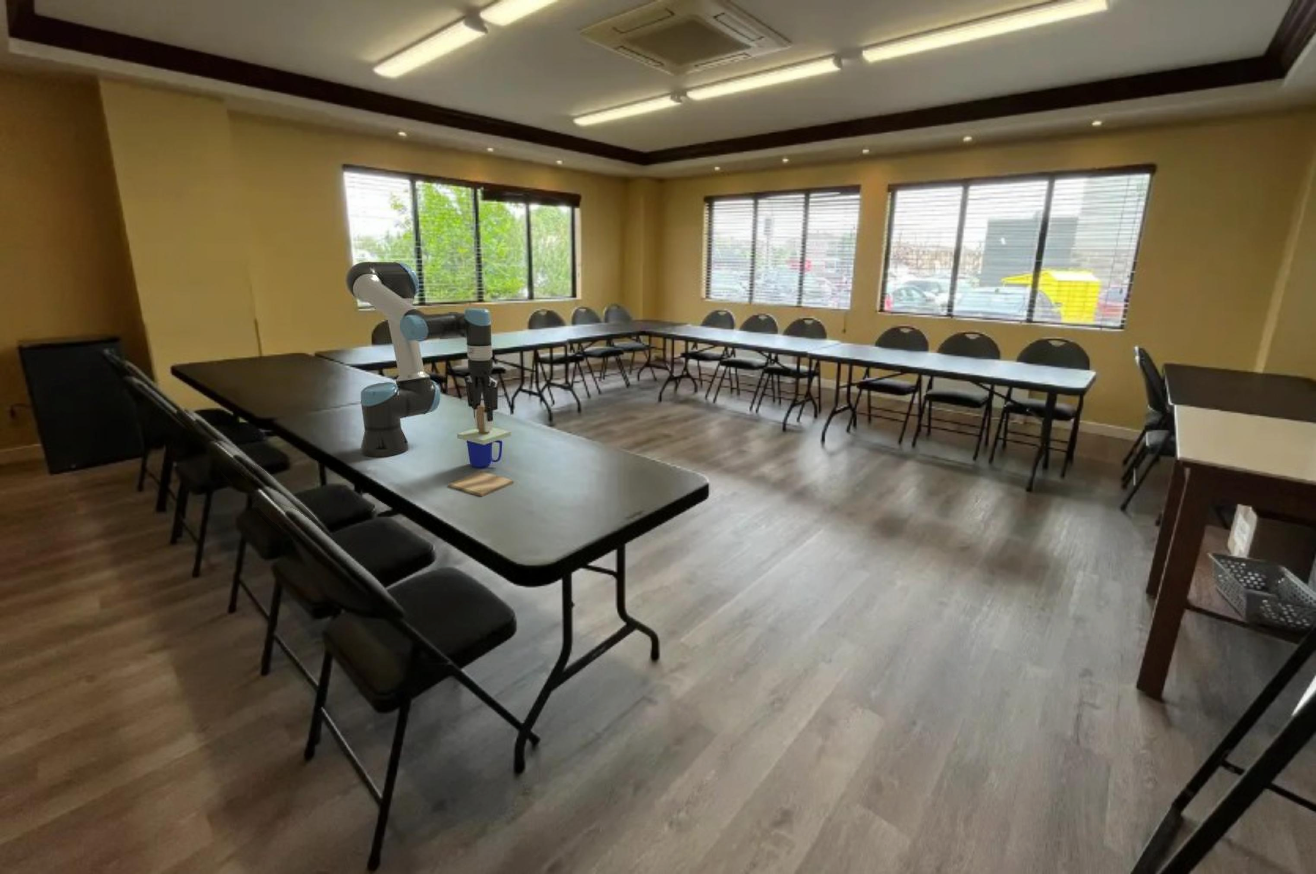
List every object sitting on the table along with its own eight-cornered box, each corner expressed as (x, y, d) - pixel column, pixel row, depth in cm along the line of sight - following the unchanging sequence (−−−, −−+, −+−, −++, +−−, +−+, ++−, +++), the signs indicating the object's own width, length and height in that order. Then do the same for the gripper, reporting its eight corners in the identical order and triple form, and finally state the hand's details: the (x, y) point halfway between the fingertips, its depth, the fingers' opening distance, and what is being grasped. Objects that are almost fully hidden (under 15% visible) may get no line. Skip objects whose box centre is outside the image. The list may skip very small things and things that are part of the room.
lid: (457, 438, 187) (455, 406, 184) (485, 429, 197) (483, 400, 194) (483, 444, 181) (481, 412, 178) (511, 435, 191) (509, 405, 188)
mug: (497, 471, 187) (495, 442, 184) (463, 467, 189) (461, 438, 186) (508, 463, 195) (507, 435, 192) (475, 459, 197) (474, 432, 194)
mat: (448, 486, 173) (448, 483, 173) (481, 473, 184) (481, 471, 184) (481, 496, 167) (481, 493, 167) (513, 482, 178) (513, 480, 177)
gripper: (452, 357, 182) (457, 427, 189) (490, 362, 174) (494, 436, 181) (470, 354, 188) (475, 423, 195) (507, 359, 181) (510, 431, 187)
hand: (484, 429), depth 188 cm, fingers closed on lid, 3 cm apart
